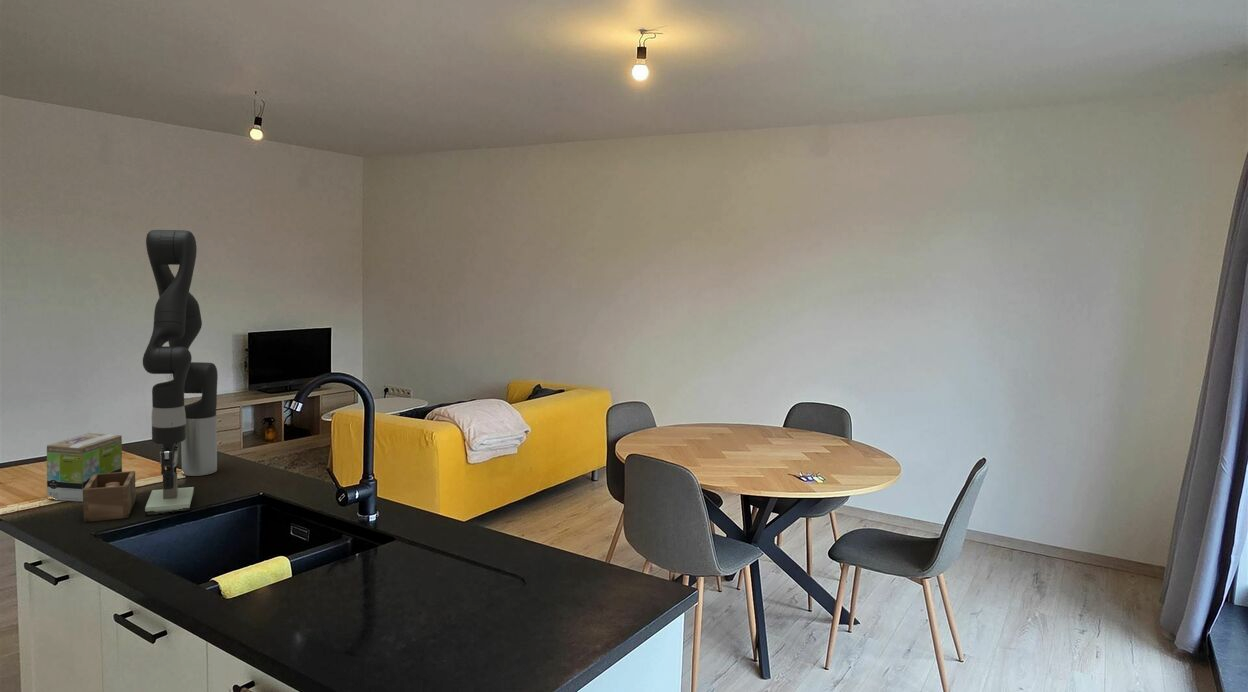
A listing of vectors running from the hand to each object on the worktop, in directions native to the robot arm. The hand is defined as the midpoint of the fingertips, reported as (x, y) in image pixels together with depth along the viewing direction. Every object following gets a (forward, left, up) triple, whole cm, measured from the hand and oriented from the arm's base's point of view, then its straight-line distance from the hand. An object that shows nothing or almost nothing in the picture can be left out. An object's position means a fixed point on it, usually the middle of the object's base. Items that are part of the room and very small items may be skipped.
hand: (170, 484), depth 194 cm
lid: (0, 0, -5) cm, 5 cm away
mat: (0, 0, -6) cm, 6 cm away
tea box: (-18, -21, -6) cm, 28 cm away
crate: (0, -13, -6) cm, 14 cm away
